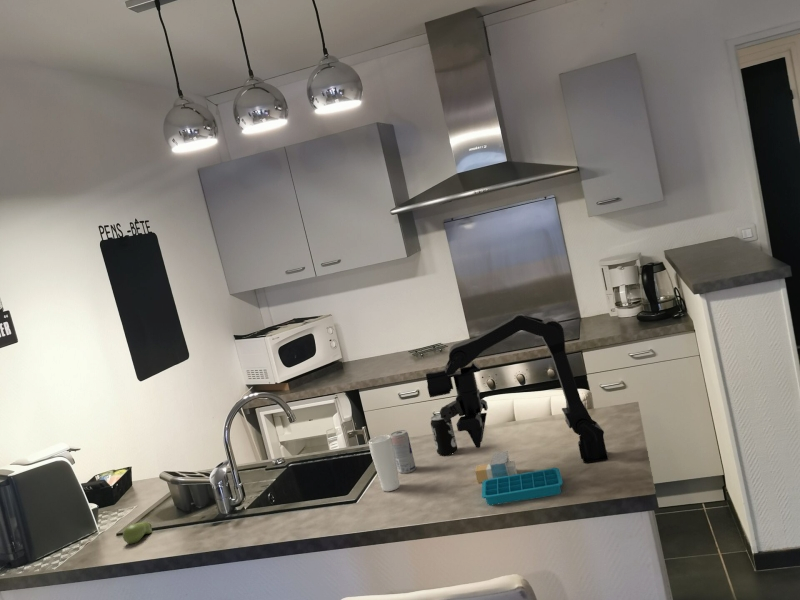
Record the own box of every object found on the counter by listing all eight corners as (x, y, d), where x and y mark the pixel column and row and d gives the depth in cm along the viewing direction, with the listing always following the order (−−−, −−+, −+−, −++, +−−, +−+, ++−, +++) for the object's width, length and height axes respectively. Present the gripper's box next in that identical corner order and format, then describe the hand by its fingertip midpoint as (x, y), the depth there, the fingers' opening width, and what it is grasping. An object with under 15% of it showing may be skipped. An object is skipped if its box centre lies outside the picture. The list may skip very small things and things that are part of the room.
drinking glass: (375, 493, 203) (363, 443, 201) (386, 483, 209) (375, 435, 207) (396, 493, 200) (384, 442, 198) (406, 483, 205) (395, 433, 204)
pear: (117, 528, 207) (139, 518, 216) (120, 546, 206) (142, 536, 216) (133, 526, 205) (154, 517, 215) (136, 545, 205) (157, 534, 214)
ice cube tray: (565, 495, 173) (563, 484, 173) (484, 509, 176) (481, 497, 176) (561, 478, 184) (558, 467, 184) (484, 490, 187) (482, 480, 187)
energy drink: (416, 465, 219) (408, 428, 217) (415, 471, 213) (406, 434, 212) (399, 468, 219) (391, 432, 218) (398, 475, 214) (389, 437, 213)
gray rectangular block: (511, 469, 197) (507, 451, 196) (509, 482, 188) (504, 463, 188) (497, 471, 198) (493, 453, 197) (494, 484, 189) (490, 465, 189)
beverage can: (450, 456, 219) (442, 419, 218) (433, 456, 224) (425, 420, 222) (461, 448, 225) (453, 412, 224) (444, 448, 229) (436, 413, 228)
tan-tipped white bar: (517, 472, 194) (514, 460, 194) (516, 478, 190) (513, 466, 190) (479, 477, 197) (477, 465, 197) (477, 483, 193) (475, 471, 193)
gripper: (443, 385, 203) (455, 437, 204) (432, 404, 185) (445, 461, 186) (481, 379, 200) (493, 431, 201) (473, 397, 182) (486, 455, 183)
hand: (479, 444), depth 193 cm, fingers open, 4 cm apart
